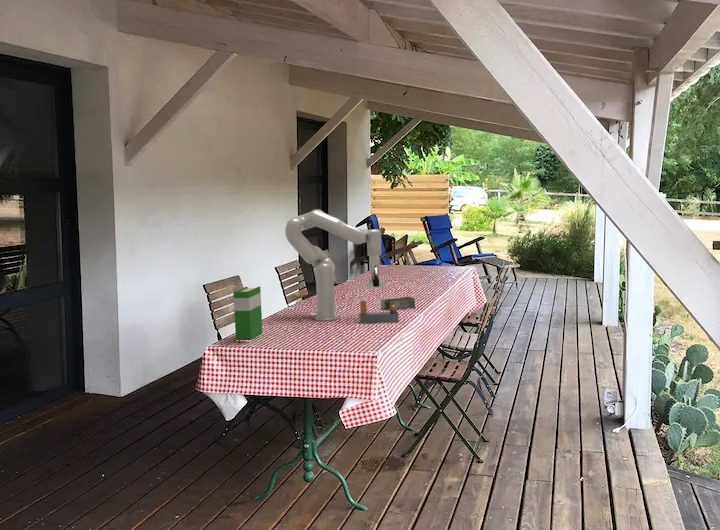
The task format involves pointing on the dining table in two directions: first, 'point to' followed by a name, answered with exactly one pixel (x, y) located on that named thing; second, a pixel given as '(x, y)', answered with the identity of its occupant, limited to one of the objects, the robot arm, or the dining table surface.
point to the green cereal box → (247, 313)
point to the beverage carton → (398, 303)
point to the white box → (370, 284)
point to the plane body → (377, 315)
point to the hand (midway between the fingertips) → (375, 285)
